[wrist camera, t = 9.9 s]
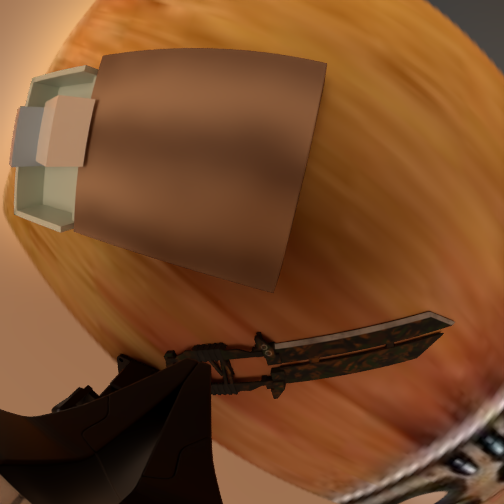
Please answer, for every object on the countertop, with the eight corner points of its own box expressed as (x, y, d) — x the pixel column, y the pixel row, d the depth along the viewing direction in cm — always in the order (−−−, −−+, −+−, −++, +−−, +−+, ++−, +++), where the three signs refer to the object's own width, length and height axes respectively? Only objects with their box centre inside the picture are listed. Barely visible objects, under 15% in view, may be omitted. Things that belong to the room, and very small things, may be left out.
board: (278, 276, 20) (273, 293, 17) (96, 224, 22) (73, 231, 19) (324, 79, 16) (327, 63, 13) (124, 65, 18) (102, 55, 15)
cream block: (82, 166, 17) (45, 166, 14) (65, 160, 19) (35, 160, 17) (95, 99, 15) (58, 94, 13) (75, 104, 18) (45, 102, 15)
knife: (453, 302, 18) (460, 309, 17) (443, 365, 20) (448, 374, 18) (160, 331, 24) (153, 339, 23) (181, 386, 25) (175, 394, 24)
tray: (92, 222, 22) (60, 232, 18) (42, 207, 23) (14, 214, 19) (116, 76, 18) (85, 65, 14) (60, 83, 19) (32, 78, 15)
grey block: (11, 167, 15) (9, 163, 17) (62, 165, 19) (54, 162, 21) (20, 106, 14) (17, 109, 15) (71, 109, 18) (63, 111, 19)
